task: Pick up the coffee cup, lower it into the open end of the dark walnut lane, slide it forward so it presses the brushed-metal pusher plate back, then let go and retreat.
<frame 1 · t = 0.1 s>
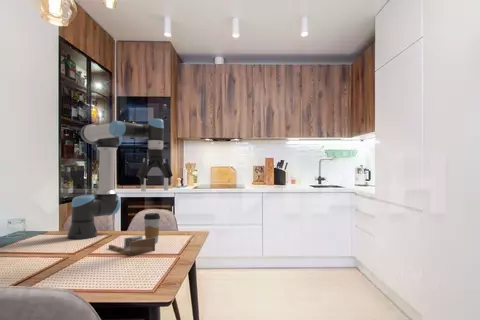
hand: (155, 190, 163), 28 cm above the table, fingers open, 13 cm apart
pusher: (135, 243, 153), point 3 cm above the table, slide at 0.0 cm
coffee cup: (151, 243, 169), on the table
lane: (131, 249, 155), on the table
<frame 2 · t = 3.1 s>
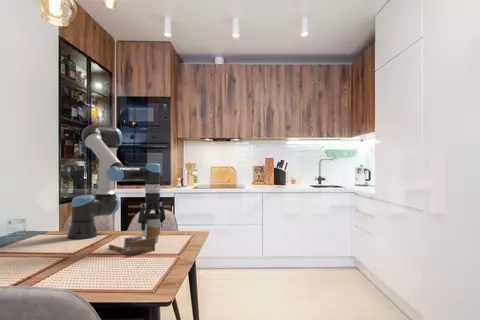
hand: (151, 235, 170), 4 cm above the table, fingers closed on coffee cup, 8 cm apart
coffee cup: (151, 243, 169), on the table, touching gripper
everything else where it was.
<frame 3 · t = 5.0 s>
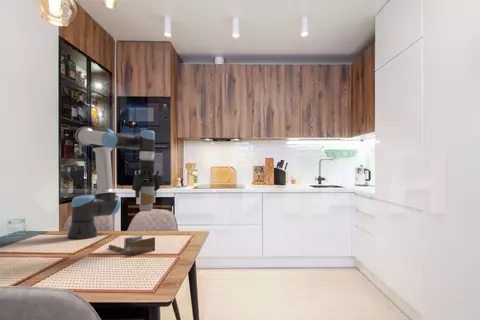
hand: (145, 203, 168), 21 cm above the table, fingers closed on coffee cup, 8 cm apart
coffee cup: (145, 211, 168), point 17 cm above the table, touching gripper
everything else where it was.
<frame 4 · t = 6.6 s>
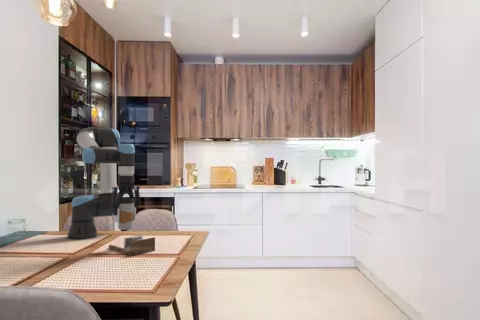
hand: (125, 220, 159), 13 cm above the table, fingers closed on coffee cup, 8 cm apart
coffee cup: (125, 229, 159), point 9 cm above the table, touching gripper
everything else where it was.
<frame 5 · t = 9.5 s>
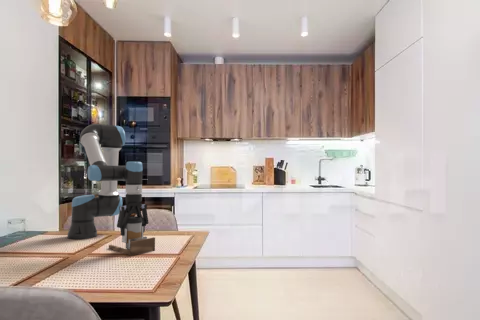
hand: (132, 240, 154), 4 cm above the table, fingers closed on coffee cup, 8 cm apart
pusher: (139, 244, 151), point 3 cm above the table, slide at 3.8 cm
coffee cup: (132, 249, 154), resting in lane, touching gripper
when the fingers open (4 cm above the table, at t = 10.4 s): coffee cup stays where it is, resting in lane.
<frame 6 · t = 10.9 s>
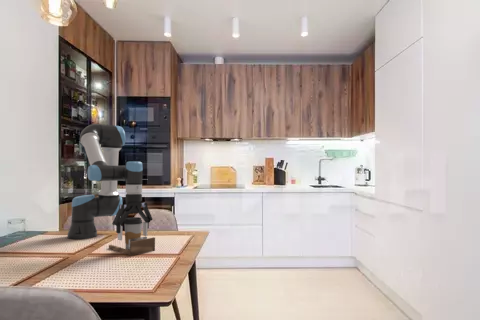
hand: (132, 237, 154), 6 cm above the table, fingers open, 13 cm apart
coffee cup: (132, 250, 154), resting in lane
everything else where it was.
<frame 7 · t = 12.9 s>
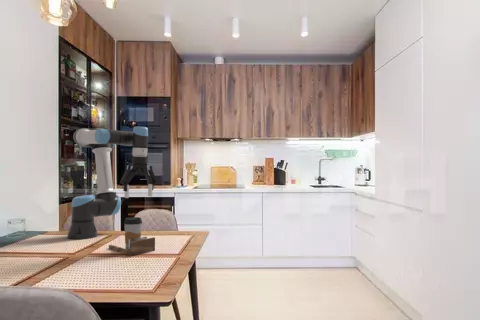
hand: (138, 197, 167), 24 cm above the table, fingers open, 13 cm apart
nothing on the table moved.
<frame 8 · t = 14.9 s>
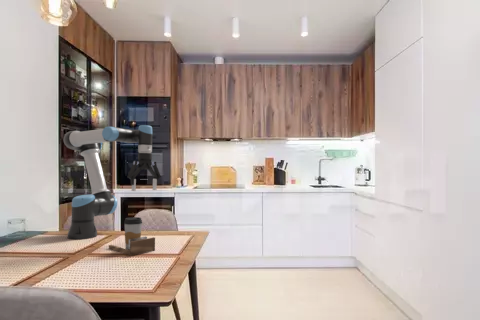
hand: (144, 190, 180), 27 cm above the table, fingers open, 13 cm apart
nothing on the table moved.
at the end: coffee cup inside the target area (0.5 cm from its centre), resting in lane; coffee cup tilted 0°; pusher slide at 3.8 cm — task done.
